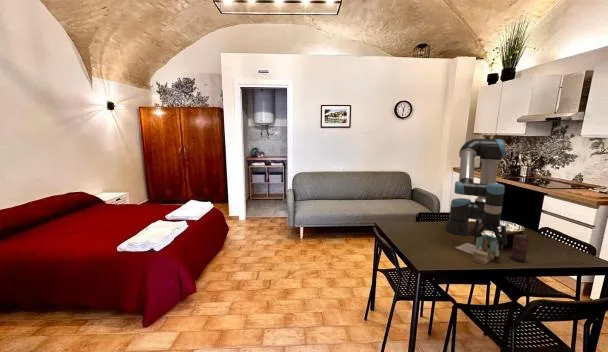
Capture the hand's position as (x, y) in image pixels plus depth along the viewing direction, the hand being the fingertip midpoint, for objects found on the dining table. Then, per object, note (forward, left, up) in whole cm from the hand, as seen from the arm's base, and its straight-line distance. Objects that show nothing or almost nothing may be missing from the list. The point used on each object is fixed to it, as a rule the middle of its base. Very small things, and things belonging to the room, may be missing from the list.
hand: (486, 251), depth 142 cm
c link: (-2, 0, +2) cm, 3 cm away
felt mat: (-5, -9, -4) cm, 11 cm away
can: (-13, +10, -4) cm, 17 cm away
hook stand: (+4, 0, -4) cm, 5 cm away
